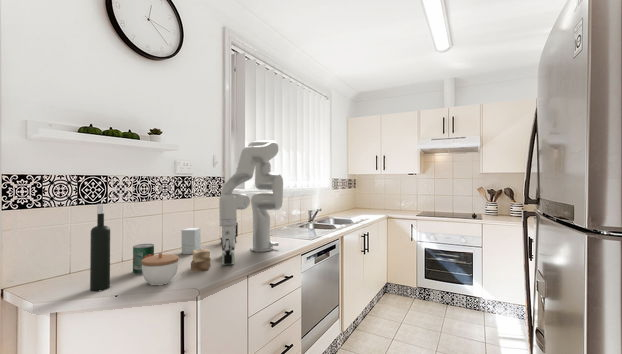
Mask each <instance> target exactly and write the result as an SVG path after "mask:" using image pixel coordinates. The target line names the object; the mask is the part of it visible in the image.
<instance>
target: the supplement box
mask: <svg viewBox="0 0 622 354" xmlns="http://www.w3.org/2000/svg"><path fill="white" fill-rule="evenodd" d="M180 231H181V255H193V250H199V249H202V248H201V240H202V239H201V227H187V228H184V229H181V230H180Z"/></svg>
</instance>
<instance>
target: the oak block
mask: <svg viewBox="0 0 622 354" xmlns="http://www.w3.org/2000/svg"><path fill="white" fill-rule="evenodd" d="M210 256H211V253H210V250H209V249H208V248H201V249H199V250H193V254H192V261H193V260H194V262H203V261H210V258H211V257H210Z"/></svg>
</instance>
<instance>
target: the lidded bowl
mask: <svg viewBox="0 0 622 354" xmlns="http://www.w3.org/2000/svg"><path fill="white" fill-rule="evenodd" d="M179 260H180V259H179V255H177V254H172V253H171V254H168V253H167V254H165V253H164V254H163V252H159V253H158V254H156V255H155V254H154V256H150V257H146V258H144V259H142V260H141V264H142V274H141V275H142V276H143V279H144V280H145V281H146V282H147V283H148V284H149V285H150V286H152V285H159V286H164V285H163V284H165V285H167V283H168V284H169V282H170V283H171V281H172V280H173V279H174V278H175V276H176V275H177V272H178V267H179Z"/></svg>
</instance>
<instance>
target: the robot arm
mask: <svg viewBox="0 0 622 354" xmlns="http://www.w3.org/2000/svg"><path fill="white" fill-rule="evenodd" d="M278 154H279V144H278V143H277V141H275V140H257V141H256V140H255V141H252V142H250V143H248V144H247V147H244V148H243V149H242V150H241V153H240V157H239V160H238V163H237V168H236V169H235V170H236V171H235V173H234V174H233V175H231V177H230V178H229V179H227V181H226V182H225V183H224V184H223V186H222V190H221V193H220V196H219V203H218V204H219V205H218V206H219V227H221V237H222V239H223V248H224V249H225V255H224V264H225V265H232V264H231V263H232V255H231V250H232V247H233V248H234V247H235V246H236V243H235V235H236V225H237V223H238V221H237V216H238V215H237V210H246V209H247V208H249V206H250V204H251V210H252V246H250V247H249V250H250V252H255V253H256V252H257V253H259V252H260V253H264V252H265V253H266V252H269V251H272V250H274V247H278V246H279V242H276V241H272V240H271V216H270V213H269V211H278V210H281V208H282V206H283V201H284V200H283V199H284V198H283V197H284V178H283V177H282V175H281V174H280V173H277V172H271V171H272V170H271V169H272V166H271V162H270V160H272V159H274V158H275V157H276V156H277V155H278ZM254 174H255V175H254ZM253 177H255V178H254V187H255V188H256V189H257V190H259V191H271V192H255V193H253V195H251V198H250V197H249V195H247V194H245V193H233V192H234V190H235V189H236V188H237V187H238V186H240V185H242V184H244V183H245V182H248V181H250V180H251V179H252V178H253ZM234 226H235V227H234Z"/></svg>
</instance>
